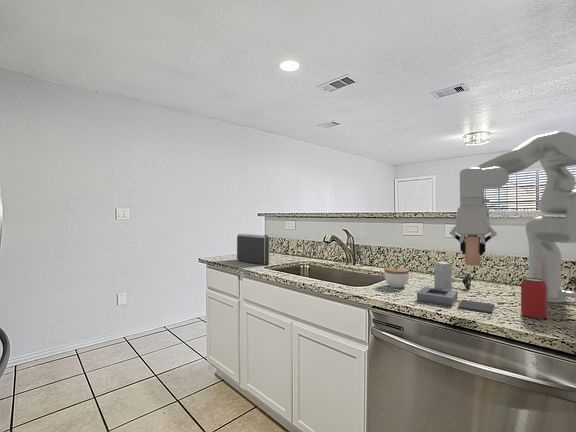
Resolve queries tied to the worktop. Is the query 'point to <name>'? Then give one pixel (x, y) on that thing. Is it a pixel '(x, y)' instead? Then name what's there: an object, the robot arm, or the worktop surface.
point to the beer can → (534, 298)
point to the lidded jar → (396, 276)
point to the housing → (437, 296)
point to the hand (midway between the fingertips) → (472, 253)
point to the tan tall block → (472, 250)
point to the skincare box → (443, 275)
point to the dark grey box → (253, 248)
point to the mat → (476, 306)
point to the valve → (463, 281)
